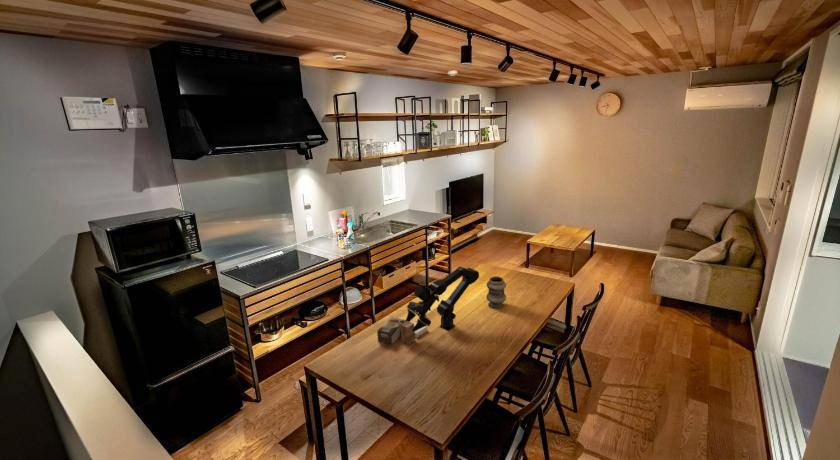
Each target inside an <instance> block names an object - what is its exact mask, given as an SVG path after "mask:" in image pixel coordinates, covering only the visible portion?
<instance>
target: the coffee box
mask: <svg viewBox="0 0 840 460" xmlns="http://www.w3.org/2000/svg"><path fill="white" fill-rule="evenodd" d="M405 321H406V319H404V318H403V319H402V318H398V317H394V316H390V318H389V319H388V320H386V322H385V323H383V324H382V326H381V327H380V328H379V329H377V331H376V333H377V341H378V342H383V343H386V344H390V345H393V344H394V342H395V341H396V340H398V338H399V337H400V336H401V324H403V323H404V322H405Z"/></svg>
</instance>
